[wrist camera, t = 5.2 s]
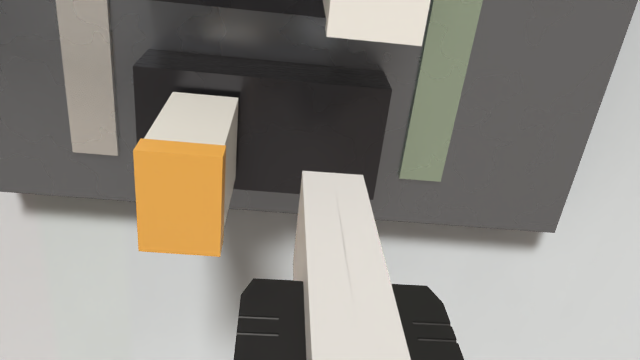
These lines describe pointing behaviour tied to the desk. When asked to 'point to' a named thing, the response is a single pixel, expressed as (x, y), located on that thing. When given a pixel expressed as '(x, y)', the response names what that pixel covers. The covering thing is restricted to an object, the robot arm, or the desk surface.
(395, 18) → the block
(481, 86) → the panel
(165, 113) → the block
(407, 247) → the desk surface
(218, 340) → the desk surface
